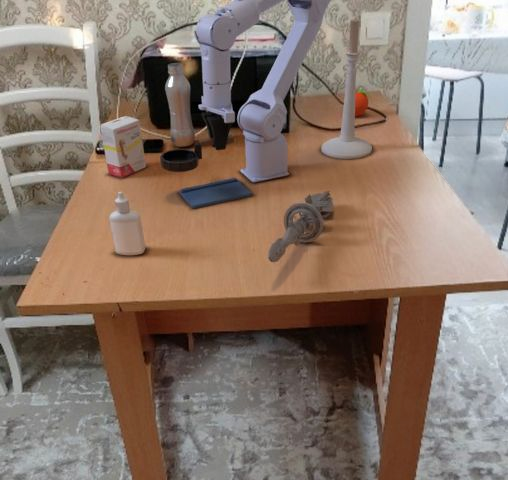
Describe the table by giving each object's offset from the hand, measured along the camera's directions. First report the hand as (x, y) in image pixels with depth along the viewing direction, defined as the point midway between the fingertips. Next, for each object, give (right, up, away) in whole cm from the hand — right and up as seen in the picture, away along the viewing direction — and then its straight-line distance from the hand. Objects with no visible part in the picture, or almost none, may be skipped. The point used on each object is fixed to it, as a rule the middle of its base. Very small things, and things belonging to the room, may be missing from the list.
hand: (218, 147), depth 130 cm
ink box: (-23, 0, +16) cm, 28 cm away
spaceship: (+17, -24, -15) cm, 33 cm away
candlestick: (+32, +7, +23) cm, 39 cm away
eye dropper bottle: (-16, -26, -16) cm, 34 cm away
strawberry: (+38, +24, +43) cm, 63 cm away
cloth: (-1, -9, +3) cm, 10 cm away
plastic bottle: (-11, +10, +29) cm, 33 cm away
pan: (-4, -3, 0) cm, 5 cm away
